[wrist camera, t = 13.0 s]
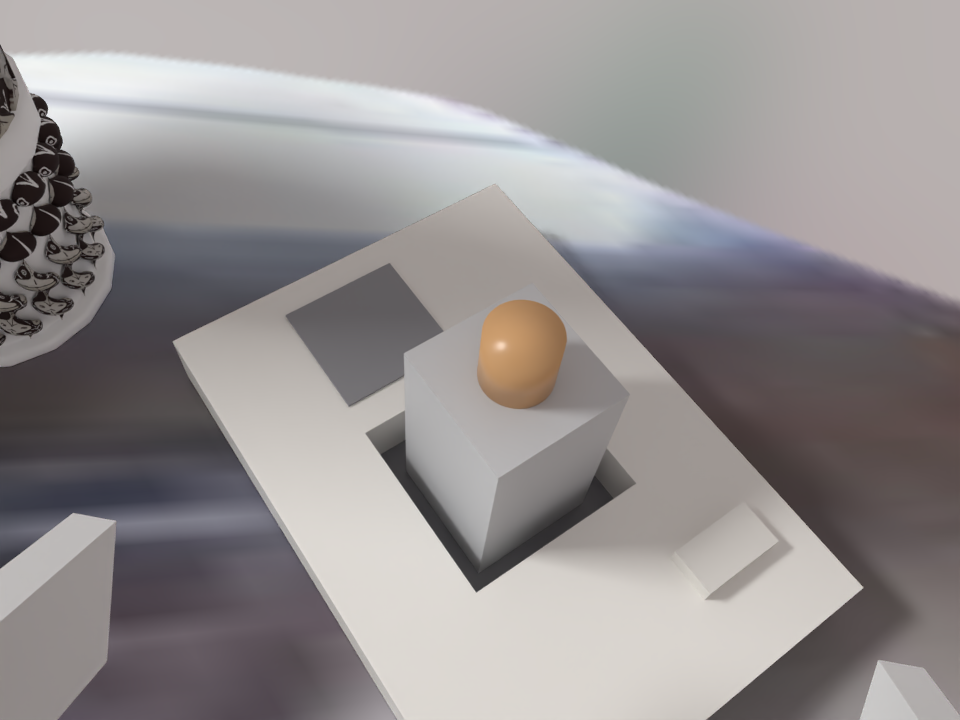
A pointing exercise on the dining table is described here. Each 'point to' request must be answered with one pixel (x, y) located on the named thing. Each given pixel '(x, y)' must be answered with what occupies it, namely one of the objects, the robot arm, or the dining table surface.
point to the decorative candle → (43, 231)
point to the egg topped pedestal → (506, 423)
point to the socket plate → (544, 557)
